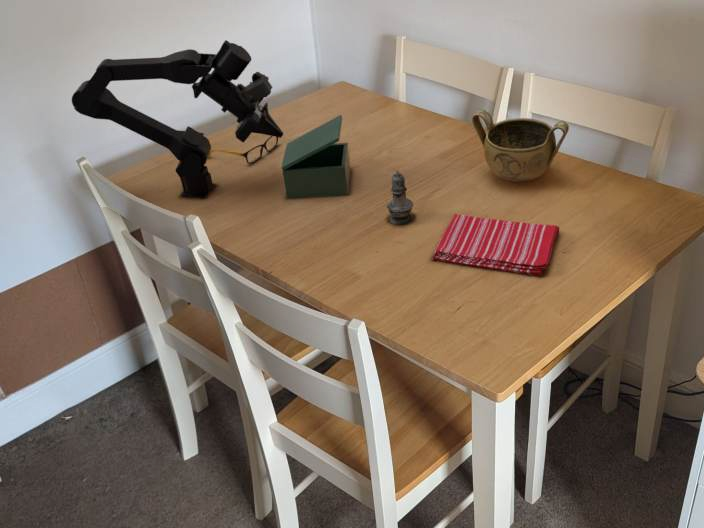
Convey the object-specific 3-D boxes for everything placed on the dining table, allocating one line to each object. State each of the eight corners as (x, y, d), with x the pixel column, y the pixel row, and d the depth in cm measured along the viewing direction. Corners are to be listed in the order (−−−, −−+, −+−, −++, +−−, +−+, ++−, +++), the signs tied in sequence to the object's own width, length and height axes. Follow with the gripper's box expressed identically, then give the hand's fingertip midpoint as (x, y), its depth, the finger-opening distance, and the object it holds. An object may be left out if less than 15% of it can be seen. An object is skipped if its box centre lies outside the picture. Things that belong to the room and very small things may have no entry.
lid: (342, 117, 191) (340, 114, 190) (339, 140, 181) (337, 138, 180) (288, 146, 195) (286, 143, 195) (282, 170, 186) (281, 167, 185)
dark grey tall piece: (395, 228, 176) (391, 179, 169) (383, 216, 180) (378, 169, 173) (418, 220, 178) (415, 171, 170) (406, 209, 182) (402, 161, 175)
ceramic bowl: (461, 184, 189) (460, 125, 180) (487, 152, 200) (487, 95, 191) (552, 200, 180) (556, 139, 171) (574, 166, 192) (579, 107, 182)
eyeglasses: (249, 168, 204) (246, 153, 202) (207, 157, 211) (203, 143, 208) (283, 144, 213) (280, 130, 211) (241, 135, 220) (238, 121, 217)
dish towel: (545, 278, 157) (545, 267, 156) (430, 261, 165) (430, 250, 163) (561, 232, 169) (562, 221, 168) (454, 219, 177) (454, 208, 175)
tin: (350, 169, 199) (347, 142, 195) (348, 194, 189) (344, 167, 185) (292, 173, 200) (288, 146, 196) (287, 198, 190) (282, 171, 186)
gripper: (239, 83, 170) (298, 128, 176) (252, 52, 184) (306, 94, 190) (211, 121, 175) (269, 163, 181) (225, 87, 190) (279, 127, 196)
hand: (282, 135), depth 187 cm, fingers closed
